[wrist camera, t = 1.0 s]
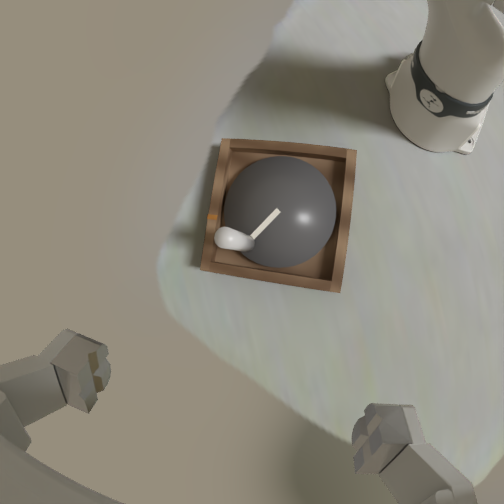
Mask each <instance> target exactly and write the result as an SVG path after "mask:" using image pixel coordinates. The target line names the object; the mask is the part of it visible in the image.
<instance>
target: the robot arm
mask: <svg viewBox="0 0 504 504" xmlns="http://www.w3.org/2000/svg"><path fill="white" fill-rule="evenodd" d="M427 2H428V9H429V14H428V21H427V26H426V30H425V34H424V37H423V40H422V41H421V42H420V43H419V44H418V46H417V48H416V49H415V51H414V53H413V54H410V55H409V56H408V57H407V59H403V60H402V62H401V64H400V66H399V69H397V70H395V71H394V72H392V73H390V74H388V75H387V77H386V79H385V83H386V86H387V88H388V90H389V92H390V110H391V114H392V117H393V119H394V121H395V123H396V125H397V126H398V128H399V129H400V131H401V132H402V133H403V134H404V135H405V136H406V137H407V138H408V139H409V140H410V141H412V142H413V143H415V144H416V145H418V146H420V147H421V148H424V149H426V150H429V151H433V152H449V151H456V152H459V153H462V154H470V153H471V152H472V151H473V148H474V146H475V143H476V141H477V138H478V135H479V133H480V130H481V127H482V124H483V121H484V119H485V116H486V113H487V110H488V107H489V103H490V100H491V98H492V96H493V93H494V91H495V90H496V89H497V87H498V86H499V85H500V84H501V83H502V82H503V80H504V27H503V26H502V24H501V23H500V21H499V20H498V18H497V17H496V16H495V14H494V12H493V11H492V9H491V7H490V5H492V3H493V2H494V3H493V6H494V7H495V8H496V9H498V10H499V11H500V12H502V13H503V14H504V0H427ZM468 141H469V142H470V143H468ZM107 355H108V349H107V346H106V345H105V344H103V343H100V342H98V341H95V340H93V339H91V338H88V337H86V336H84V335H81V334H78V333H76V332H74V331H72V330H70V329H65V330H63V331H62V332H61V333H60V334H59V335H58V336H57V337H56V338H55V339H54V340H53V341H52V342H51V343H50V344H49V345H48V346H47V347H46V348H45V349H44V350H43V351H42V352H41V353H40V355H38V356H35V355H33V356H30V357H26V358H23V359H20V360H16V361H13V362H9V363H6V364H3V365H0V504H124V503H121V502H119V501H116V500H114V499H111V498H109V497H107V496H105V495H102V494H100V493H98V492H96V491H94V490H92V489H89V488H87V487H85V486H83V485H81V484H79V483H77V482H75V481H74V480H71V479H70V478H68V477H66V476H64V475H62V474H61V473H59V472H57V471H55V470H53V469H52V468H50V467H48V466H47V465H45V464H43V463H42V462H40V461H39V460H37V459H35V458H34V457H32V456H31V455H29V454H28V453H26V452H25V451H26V450H27V448H28V447H29V445H30V443H31V438H30V436H29V435H28V433H27V431H26V430H25V428H24V427H25V426H27V425H29V424H31V423H33V422H35V421H37V420H39V419H41V418H43V417H45V416H47V415H49V414H50V413H53V412H55V411H57V410H59V409H61V408H62V407H64V406H66V405H67V404H68V405H70V406H72V407H75V408H77V409H79V410H81V411H84V412H86V413H89V412H90V411H91V409H92V408H93V406H94V405H95V403H96V401H97V400H98V399H97V393H98V392H101V391H103V390H104V389H105V387H106V386H107V384H108V382H109V379H110V374H111V368H110V363H109V362H108V361H107V359H106V357H107ZM364 412H365V416H363V417H361V418H360V419H358V421H357V422H356V424H355V425H354V428H353V432H352V446H353V447H354V448H355V449H356V450H357V453H356V454H355V455H354V457H353V458H354V466H355V474H379V477H380V478H381V479H382V481H383V482H384V484H385V485H386V486H387V488H388V489H389V491H390V492H391V493H392V495H393V496H394V498H395V499H396V500H397V502H398V503H399V504H478V503H477V499H476V495H475V492H474V488H473V485H472V483H471V482H470V481H469V480H468V479H467V478H466V477H465V476H464V475H463V474H462V473H461V472H460V471H459V470H458V469H457V468H455V467H454V466H453V465H452V464H451V463H450V462H449V461H448V460H447V459H446V458H445V457H444V456H443V455H442V454H441V453H440V452H439V451H437V450H436V449H435V448H434V447H433V446H432V445H431V444H430V443H426V441H425V437H424V434H423V431H422V428H421V425H420V421H419V418H418V415H417V412H416V409H415V407H414V406H413V405H397V404H378V403H371V404H369V405H368V406H367V407H366V409H365V410H364Z"/></svg>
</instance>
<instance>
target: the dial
mask: <svg viewBox="0 0 504 504" xmlns="http://www.w3.org/2000/svg"><path fill="white" fill-rule="evenodd" d="M224 220H225V226H226V227H221V228H219V229H218V230H217V231H216V233H215V236H214V240H215V243H216V244H217V246H219V247H220V248H224V249H230V250H237V251H240V252H241V253H242V254H243V255H244V256H246V257H247V258H249V259H250V260H252V261H254V262H256V263H258V264H261V265H264V266H268V267H276V268H283V267H291V266H295V265H298V264H301V263H303V262H305V261H307V260H309V259H311V258H312V257H314V256H315V255H316V254H317V253H318V252H319V251H320V250H321V249H322V248H323V247H324V246H325V244H326V243H327V241H328V240H329V238H330V236H331V234H332V231H333V228H334V225H335V220H336V201H335V197H334V194H333V191H332V188H331V186H330V185H329V183H328V181H327V180H326V178H325V177H324V176H323V175H322V173H321V172H320V171H319V170H317V169H316V168H315V167H314V166H312V165H311V164H309V163H307V162H305V161H303V160H300V159H297V158H294V157H288V156H274V157H269V158H265V159H262V160H259V161H257V162H255V163H253V164H251V165H250V166H248V167H247V168H245V169H244V170H243V171H242V172H241V173H240V174H239V175H238V176H237V178H236V179H235V180H234V182H233V183H232V185H231V187H230V189H229V191H228V193H227V196H226V200H225V205H224Z"/></svg>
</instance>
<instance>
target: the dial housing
mask: <svg viewBox="0 0 504 504" xmlns="http://www.w3.org/2000/svg"><path fill="white" fill-rule="evenodd" d="M356 154H357V150H352V149H345V148H338V147H330V146H321V145H312V144H302V143H291V142H279V141H265V140H248V139H223V138H222V141H221V146H220V151H219V157H218V162H217V167H216V173H215V179H214V184H213V190H212V196H211V202H210V208H209V214H208V216H207V219H208V220H207V226H206V233H205V239H204V246H203V253H202V259H201V266H200V270H203V271H209V272H214V273H220V274H226V275H232V276H237V277H243V278H249V279H255V280H261V281H267V282H273V283H279V284H285V285H292V286H298V287H304V288H310V289H317V290H323V291H330V292H337V293H340V291H341V285H342V278H343V272H344V265H345V258H346V251H347V244H348V236H349V228H350V220H351V211H352V201H353V191H354V180H355V168H356ZM274 156H288V157H294V158H297V159H300V160H303V161H305V162H307V163H309V164H311V165H312V166H314V167H315V168H316V169H317V170H319V171H320V172H321V173H322V175H323V176H324V177H325V178H326V180H327V181H328V183H329V185H330V186H331V188H332V191H333V194H334V197H335V201H336V220H335V225H334V228H333V231H332V234H331V236H330V238H329V240H328V241H327V243H326V244H325V246H324V247H323V248H322V249H321V250H320V251H319V252H318V253H317V254H316V255H315V256H314V257H312V258H311V259H309V260H307V261H305V262H303V263H301V264H298V265H295V266H291V267H283V268H276V267H268V266H264V265H261V264H258V263H256V262H254V261H252V260H250V259H249V258H247V257H246V256H244V255H243V254H242V253H241V252H240V251H237V250H230V249H224V248H220V247H219V246H217V244H216V243H215V240H214V236H215V233H216V231H217V230H218V229H219V228H221V227H226V226H225V220H224V205H225V200H226V196H227V193H228V191H229V189H230V187H231V185H232V183H233V182H234V180H235V179H236V178H237V176H238V175H239V174H240V173H241V172H242V171H243V170H244V169H245V168H247V167H248V166H250V165H251V164H253V163H255V162H257V161H259V160H262V159H265V158H269V157H274Z"/></svg>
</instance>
